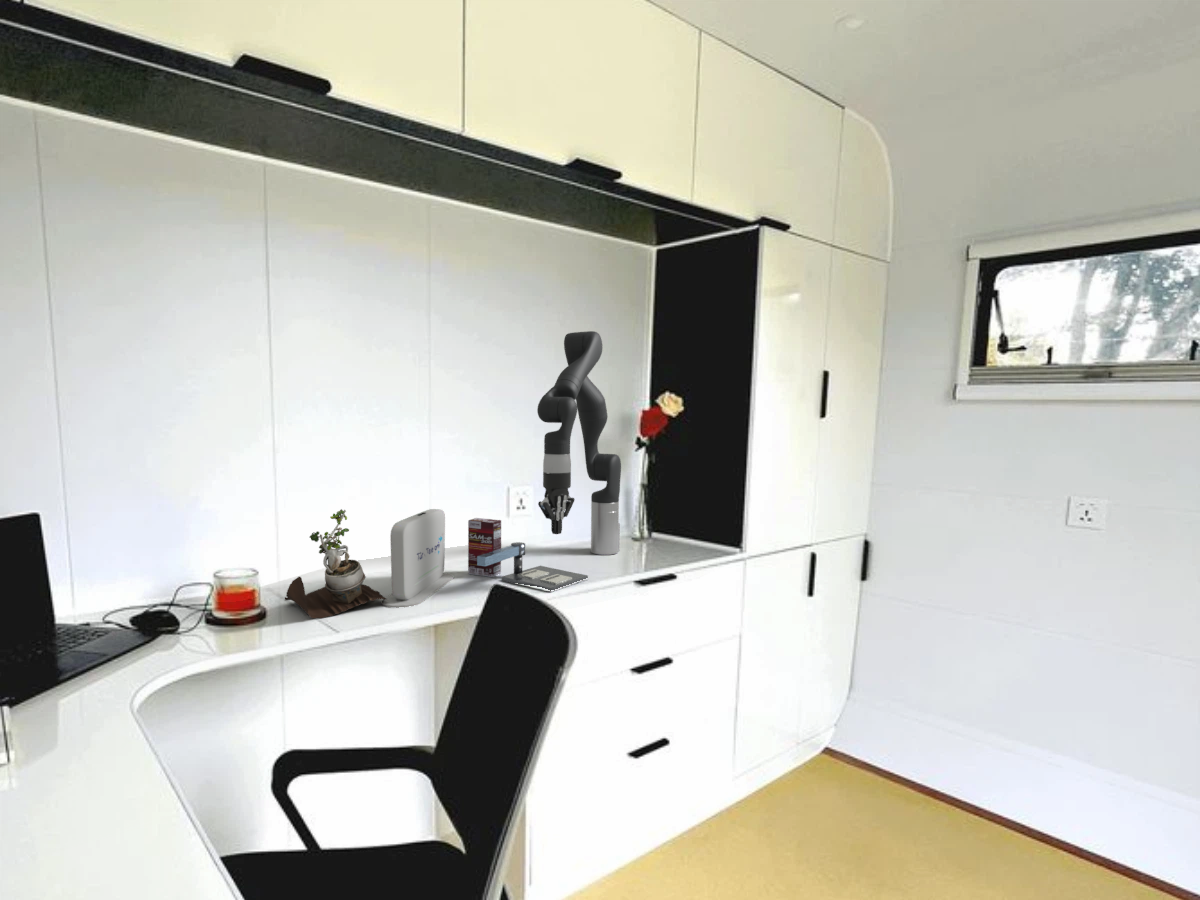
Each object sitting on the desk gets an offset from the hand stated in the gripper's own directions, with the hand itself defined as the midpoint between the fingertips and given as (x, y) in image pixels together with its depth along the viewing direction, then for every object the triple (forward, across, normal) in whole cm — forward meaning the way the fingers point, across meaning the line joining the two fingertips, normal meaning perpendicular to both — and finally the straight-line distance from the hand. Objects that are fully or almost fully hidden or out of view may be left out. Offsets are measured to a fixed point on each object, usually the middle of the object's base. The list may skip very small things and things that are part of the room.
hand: (556, 533), depth 173 cm
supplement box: (+14, +5, -23) cm, 27 cm away
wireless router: (+14, +26, -24) cm, 39 cm away
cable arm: (+7, +8, -12) cm, 17 cm away
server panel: (+14, -1, -5) cm, 15 cm away
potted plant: (+14, +48, -30) cm, 58 cm away
